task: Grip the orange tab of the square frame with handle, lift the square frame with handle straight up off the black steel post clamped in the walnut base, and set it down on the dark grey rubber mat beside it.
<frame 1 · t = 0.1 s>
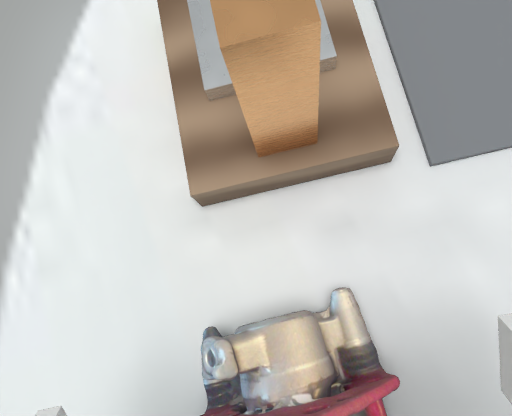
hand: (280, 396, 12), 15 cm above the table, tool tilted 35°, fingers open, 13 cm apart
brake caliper: (295, 378, 27), on the table
square frame with handle: (258, 31, 30), point 3 cm above the table, touching vise post
rubber mat: (498, 43, 30), on the table
vise post: (270, 83, 32), on the table
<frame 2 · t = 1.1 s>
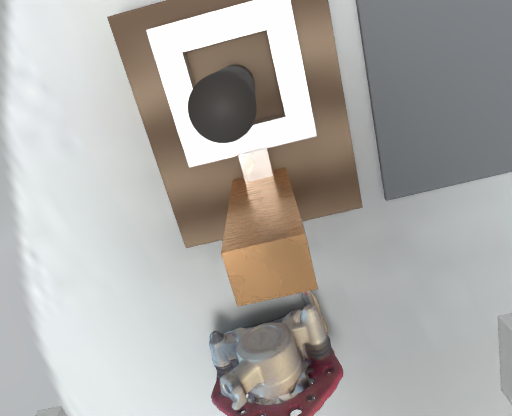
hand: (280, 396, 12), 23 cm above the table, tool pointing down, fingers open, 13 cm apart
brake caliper: (272, 339, 39), on the table
square frame with handle: (236, 83, 28), point 3 cm above the table, touching vise post
rubber mat: (470, 78, 31), on the table
vise post: (245, 114, 32), on the table
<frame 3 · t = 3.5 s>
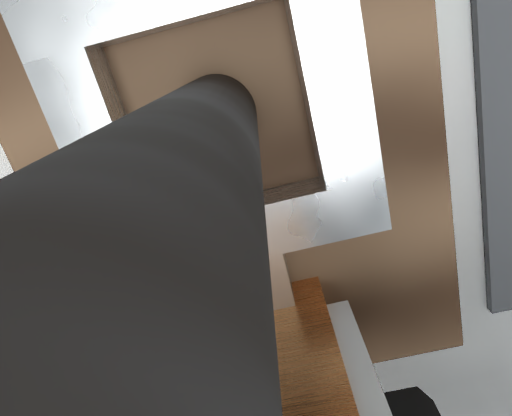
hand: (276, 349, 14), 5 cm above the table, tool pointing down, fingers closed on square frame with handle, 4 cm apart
square frame with handle: (217, 115, 13), point 3 cm above the table, touching gripper, vise post
vise post: (239, 165, 17), on the table
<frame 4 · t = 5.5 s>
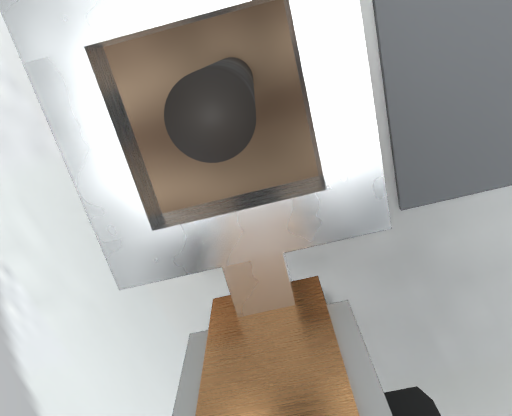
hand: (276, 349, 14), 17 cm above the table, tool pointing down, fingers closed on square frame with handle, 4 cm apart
square frame with handle: (217, 115, 13), point 15 cm above the table, touching gripper
rubber mat: (499, 72, 27), on the table
vise post: (243, 113, 28), on the table
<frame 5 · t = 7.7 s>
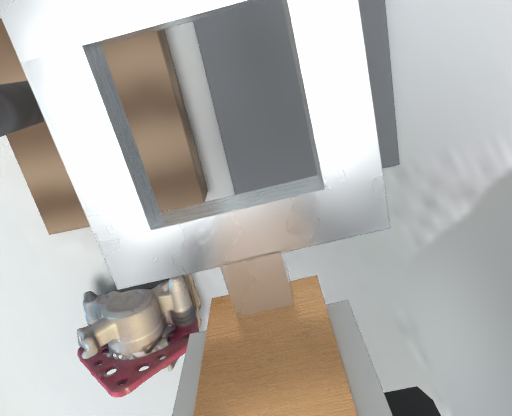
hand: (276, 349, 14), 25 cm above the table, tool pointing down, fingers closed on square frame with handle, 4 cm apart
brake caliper: (150, 306, 43), on the table
square frame with handle: (215, 114, 13), point 23 cm above the table, touching gripper
rubber mat: (301, 91, 35), on the table
vise post: (104, 116, 35), on the table
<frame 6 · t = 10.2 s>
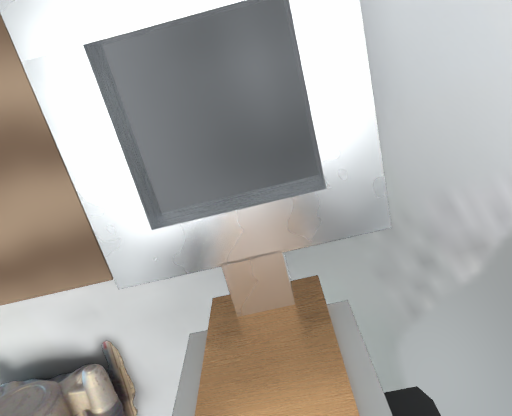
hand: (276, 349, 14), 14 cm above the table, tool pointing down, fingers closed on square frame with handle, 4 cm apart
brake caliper: (70, 393, 33), on the table
square frame with handle: (216, 113, 13), point 12 cm above the table, touching gripper
rubber mat: (240, 122, 25), on the table
when the fingers open (4 cm above the table, at t = 12.3 s): square frame with handle drops 2 cm, resting on rubber mat.
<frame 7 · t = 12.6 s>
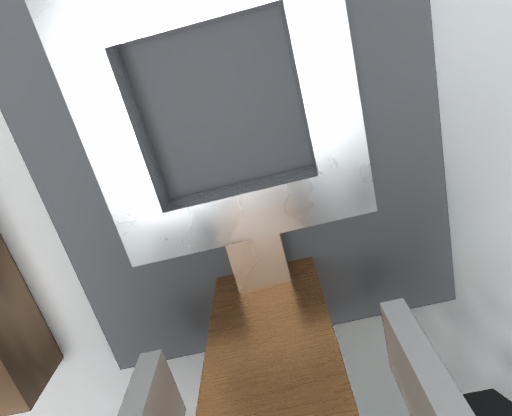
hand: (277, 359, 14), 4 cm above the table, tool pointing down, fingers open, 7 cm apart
square frame with handle: (220, 109, 15), resting on rubber mat
rubber mat: (235, 159, 16), on the table
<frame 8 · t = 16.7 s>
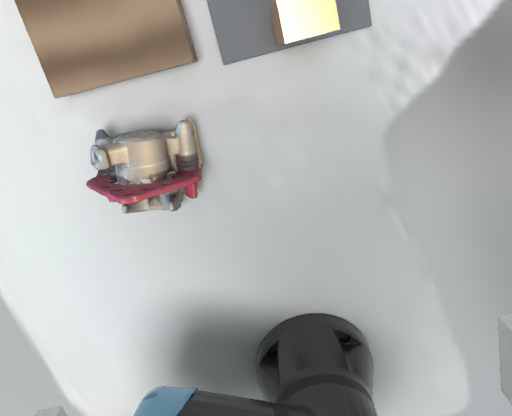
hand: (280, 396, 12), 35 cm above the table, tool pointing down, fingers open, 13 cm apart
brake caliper: (155, 162, 46), on the table
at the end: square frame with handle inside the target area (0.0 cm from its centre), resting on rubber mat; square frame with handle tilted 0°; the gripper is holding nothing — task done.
